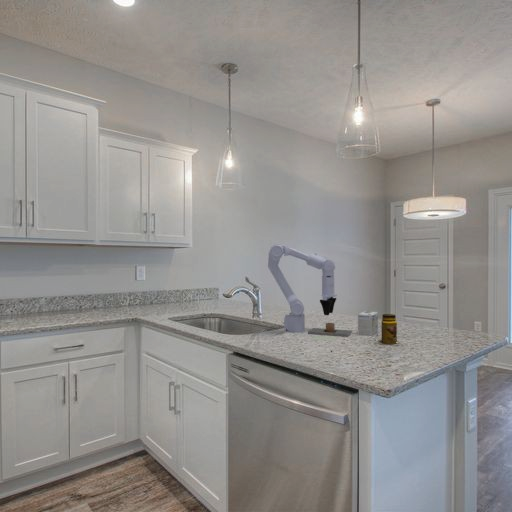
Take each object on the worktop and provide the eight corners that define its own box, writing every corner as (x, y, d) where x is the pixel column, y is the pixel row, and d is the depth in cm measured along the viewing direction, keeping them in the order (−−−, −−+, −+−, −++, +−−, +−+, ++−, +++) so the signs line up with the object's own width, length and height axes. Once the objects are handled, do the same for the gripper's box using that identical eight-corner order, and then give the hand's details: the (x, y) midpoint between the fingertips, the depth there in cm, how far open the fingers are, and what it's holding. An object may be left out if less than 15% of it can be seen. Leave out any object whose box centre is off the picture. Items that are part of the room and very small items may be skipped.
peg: (324, 337, 170) (324, 324, 170) (326, 335, 173) (326, 322, 173) (333, 337, 168) (333, 324, 168) (335, 336, 172) (335, 323, 172)
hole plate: (307, 337, 170) (307, 331, 170) (313, 333, 179) (313, 327, 179) (348, 340, 162) (348, 334, 163) (351, 335, 172) (351, 330, 172)
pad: (310, 342, 158) (310, 339, 159) (314, 339, 165) (314, 336, 165) (333, 344, 154) (333, 341, 154) (337, 341, 161) (337, 337, 161)
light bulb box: (363, 333, 177) (363, 310, 177) (378, 335, 174) (378, 311, 174) (357, 337, 168) (357, 313, 168) (372, 339, 164) (372, 314, 164)
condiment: (396, 345, 152) (395, 316, 152) (374, 343, 156) (374, 314, 156) (399, 342, 158) (398, 314, 158) (378, 340, 162) (378, 312, 162)
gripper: (333, 286, 169) (333, 316, 169) (339, 284, 182) (339, 312, 182) (317, 286, 172) (318, 315, 172) (325, 284, 185) (325, 311, 185)
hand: (328, 314), depth 177 cm, fingers open, 7 cm apart
